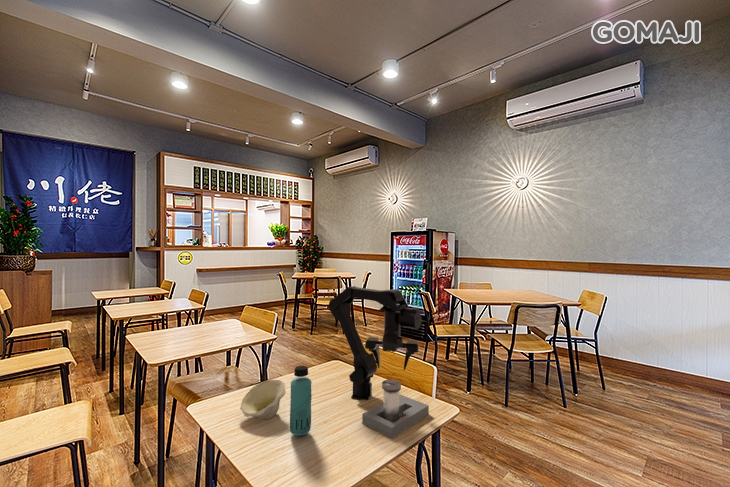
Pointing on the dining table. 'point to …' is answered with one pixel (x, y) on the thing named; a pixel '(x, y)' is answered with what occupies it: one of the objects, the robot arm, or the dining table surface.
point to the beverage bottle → (300, 402)
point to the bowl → (263, 399)
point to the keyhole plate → (408, 409)
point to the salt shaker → (391, 400)
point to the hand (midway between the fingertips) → (391, 368)
